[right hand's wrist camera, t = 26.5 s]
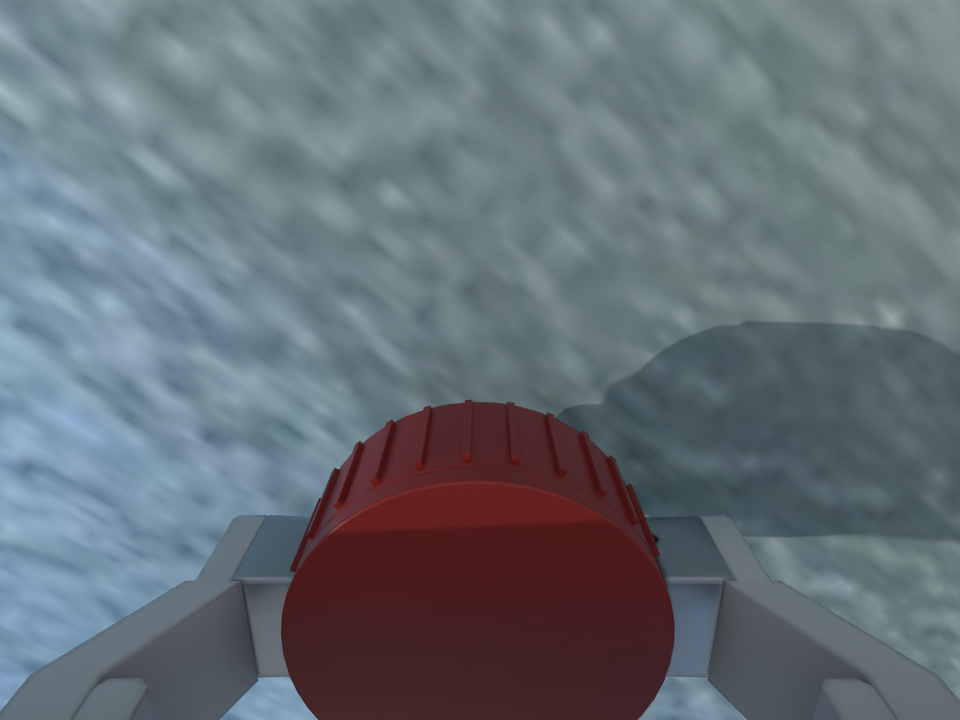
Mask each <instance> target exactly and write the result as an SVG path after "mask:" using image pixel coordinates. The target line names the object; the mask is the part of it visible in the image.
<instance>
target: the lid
mask: <svg viewBox="0 0 960 720" xmlns="http://www.w3.org/2000/svg"><path fill="white" fill-rule="evenodd" d="M657 556H660V553H659V550H658V548H657V545H656V543H655V540H654V538H653V535H652V533H651V531H650V528H649V526H648V523H647V521H646V518H645V516H644V513H643V511H642V508H641V506H640V503H639V501H638V499H637V496H636V494H635V491H634V489H633V487H632V485H631V484H630V485H627V486H626V484H625V482H624V480H623V478H622V476H621V473H620V471H619V468H618V466H617V463H616V461H615V459H614V458H613V456H612V455H611V456H609V457H607V456H606V455H605V454H604V453H603V452H602V451H601V450H600V449H599V448H598V447H597V446H596V445H595V444H594V443H593V442H592V441H590V439H589V436H588V434H587V433H586V432H584V431H582V432H581V433H580V432H578V431H577V430H575V429H573V428H572V427H570V426H568V425H566V424H565V423H563V422H561V421H559V420H557V419H555V418H554V415H553V414H550V413H547V414H546V415H545V414H542V413H540V412H537V411H533V410H530V409H526V408H522V407H519V406H514V403H511V402H507V404H500V403H486V402H472V400H465V403H457V404H448V405H443V406H439V407H434V408H431V406H427V407H424V410H423V411H420V412H417V413H414V414H411V415H409V416H406V417H404V418H402V419H400V420H398V421H396V422H393V420H390V421H389V422H387V423H386V426H385V427H384V428H383V429H381V430H380V431H378V432H377V433H375V434H374V435H372V436H371V437H370V438H368V439H367V440H366V441H365V442H364V443H362V442H360V441H359V442H358V443H357V444H356V445H355V447H354V449H353V452H352V454H351V455H350V457H349V458H348V459H347V460H346V461H345V462H344V464H343V465H342V466H341V468H340V469H337V468H334V470H333V471H332V473H331V476H330V478H329V480H328V483H327V485H326V488H325V490H324V493H323V495H322V498H319V500H318V502H317V505H316V507H315V509H314V512H313V514H312V517H311V519H310V521H309V524H308V526H307V529H306V531H305V533H304V536H303V538H302V541H301V543H300V545H299V548H298V550H297V553H296V555H295V558H294V560H293V562H292V565H291V568H290V571H291V572H295V574H294V576H293V579H292V581H291V584H290V586H289V589H288V591H287V594H286V598H285V602H284V606H283V611H282V620H281V640H282V649H283V656H284V659H285V663H286V666H287V669H288V673H289V675H290V677H291V680H292V682H293V684H294V686H295V688H296V690H297V692H298V694H299V695H300V697H301V698H302V700H303V701H304V703H305V704H306V706H307V707H308V709H309V710H310V711H311V712H312V713H313V714H314V715H315V717H316V718H317V719H318V720H638V719H639V718H640V717H641V716H642V715H643V713H644V712H645V711H646V709H647V708H648V707H649V705H650V704H651V703H652V701H653V700H654V699H655V697H656V695H657V693H658V691H659V690H660V688H661V686H662V684H663V682H664V680H665V677H666V674H667V672H668V669H669V666H670V663H671V658H672V653H673V647H674V637H675V621H674V615H673V608H672V602H671V599H670V596H669V593H668V590H667V587H666V585H665V582H664V579H663V577H662V574H661V571H660V569H659V567H658V564H657V561H656V559H655V557H657Z"/></svg>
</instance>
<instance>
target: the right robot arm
mask: <svg viewBox="0 0 960 720" xmlns="http://www.w3.org/2000/svg"><path fill="white" fill-rule="evenodd" d="M311 517H312V516H272V515H270V516H266V515H240V516H238V517H236V518H234V519H233V520H232V522H231V523H230V525H229V527H228V528H227V530H226V532H225V533H224V535H223V536H222V538H221V540H220V541H219V543H218V545H217V546H216V548H215V549H214V551H213V553H212V554H211V556H210V558H209V559H208V561H207V563H206V564H205V566H204V567H203V569H202V571H201V572H200V574H199V576H198V577H197V579H196V580H195V581H185V582H183V583H182V584H180V585H178V586H177V587H175V588H173V589H172V590H170V591H168V592H167V593H165V594H163V595H162V596H160V597H158V598H157V599H155V600H154V601H152V602H150V603H149V604H147V605H145V606H144V607H142V608H140V609H139V610H137V611H135V612H134V613H132V614H130V615H129V616H127V617H125V618H124V619H122V620H120V621H119V622H117V623H116V624H114V625H112V626H111V627H109V628H107V629H106V630H104V631H102V632H101V633H99V634H97V635H96V636H94V637H92V638H91V639H89V640H87V641H86V642H84V643H83V644H81V645H79V646H78V647H76V648H74V649H73V650H71V651H69V652H68V653H66V654H64V655H63V656H61V657H59V658H58V659H56V660H54V661H53V662H51V663H49V664H48V665H46V666H45V667H43V668H41V669H40V670H38V671H36V672H35V673H33V674H31V675H30V676H29V677H28V678H27V679H26V681H25V682H24V683H23V684H22V686H21V687H20V688H19V689H18V691H17V692H16V693H15V694H14V696H13V697H12V698H11V699H10V701H9V702H8V703H7V704H6V706H5V707H4V708H3V709H2V711H1V712H0V720H219V719H220V718H221V717H222V716H223V715H224V714H225V713H226V712H227V711H228V710H229V709H230V708H231V707H232V706H233V705H234V704H235V703H236V702H237V701H238V700H239V699H240V698H241V697H242V696H243V695H244V694H245V693H246V692H247V691H248V690H249V689H250V688H251V687H252V686H253V685H254V684H255V683H256V682H257V681H258V677H286V676H290V675H289V673H288V669H287V666H286V663H285V659H284V656H283V649H282V640H281V620H282V611H283V606H284V602H285V598H286V594H287V591H288V589H289V586H290V584H291V581H292V579H293V576H294V574H295V572H291V571H290V568H291V565H292V562H293V560H294V558H295V555H296V553H297V550H298V548H299V545H300V543H301V541H302V538H303V536H304V533H305V531H306V529H307V526H308V524H309V521H310V519H311ZM645 518H646V521H647V523H648V526H649V528H650V531H651V533H652V535H653V538H654V540H655V543H656V545H657V548H658V550H659V553H660V556H657V557H655V559H656V561H657V564H658V567H659V569H660V571H661V574H662V577H663V579H664V582H665V585H666V587H667V590H668V593H669V596H670V599H671V602H672V608H673V615H674V621H675V637H674V647H673V653H672V658H671V663H670V666H669V669H668V672H667V674H666V676H679V677H708V681H709V682H710V683H711V684H712V685H713V686H714V687H715V688H716V689H717V690H718V691H719V692H720V693H721V694H722V695H723V696H724V697H725V698H726V699H727V700H728V701H729V702H730V703H731V704H732V705H733V706H734V707H735V708H736V709H737V710H738V711H739V712H740V713H741V714H742V715H743V716H744V717H745V718H746V719H747V720H960V701H959V700H958V699H957V697H956V696H955V695H954V694H953V692H952V691H951V690H950V689H949V687H948V686H947V685H946V684H945V683H944V681H943V680H942V679H941V678H940V676H938V675H936V674H935V673H933V672H931V671H930V670H928V669H926V668H925V667H923V666H921V665H920V664H918V663H916V662H915V661H913V660H911V659H910V658H908V657H906V656H905V655H903V654H901V653H900V652H898V651H896V650H895V649H893V648H891V647H890V646H888V645H886V644H885V643H883V642H881V641H880V640H878V639H876V638H875V637H873V636H871V635H870V634H868V633H866V632H865V631H863V630H861V629H860V628H858V627H856V626H855V625H853V624H851V623H850V622H848V621H846V620H845V619H843V618H841V617H840V616H838V615H836V614H835V613H833V612H831V611H830V610H828V609H827V608H825V607H823V606H822V605H820V604H818V603H817V602H815V601H813V600H812V599H810V598H808V597H807V596H805V595H803V594H802V593H800V592H798V591H797V590H795V589H793V588H792V587H790V586H788V585H787V584H785V583H783V582H782V581H771V580H770V578H769V577H768V575H767V573H766V572H765V570H764V569H763V567H762V566H761V564H760V562H759V561H758V559H757V558H756V556H755V555H754V553H753V551H752V550H751V548H750V547H749V545H748V543H747V542H746V540H745V539H744V537H743V536H742V534H741V532H740V531H739V529H738V528H737V526H736V525H735V523H734V521H733V520H732V518H730V517H729V516H727V515H709V516H696V517H645Z"/></svg>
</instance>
